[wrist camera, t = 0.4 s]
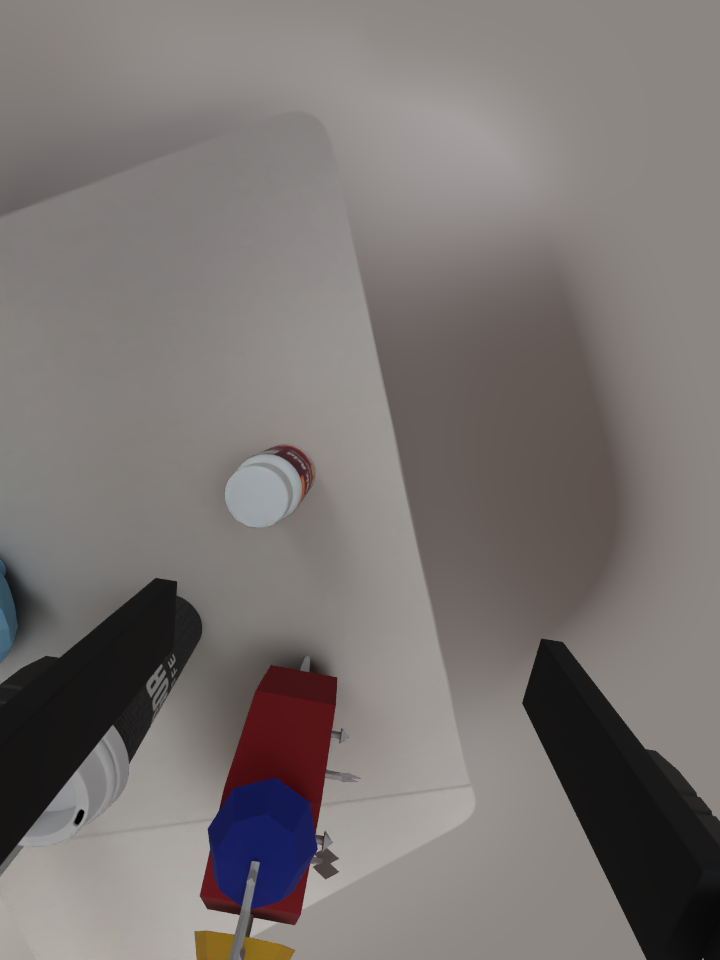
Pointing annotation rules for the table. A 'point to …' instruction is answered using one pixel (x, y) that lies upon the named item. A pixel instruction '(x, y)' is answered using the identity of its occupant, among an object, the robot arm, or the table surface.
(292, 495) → the pill bottle
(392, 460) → the table surface
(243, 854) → the alarm clock
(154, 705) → the coffee cup
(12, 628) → the teapot
